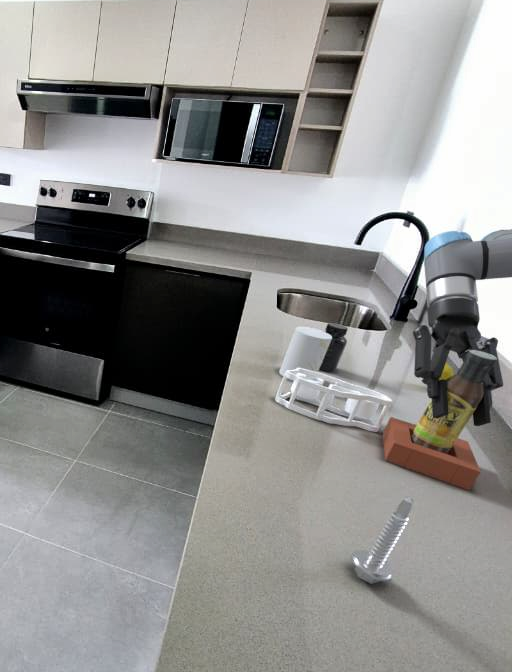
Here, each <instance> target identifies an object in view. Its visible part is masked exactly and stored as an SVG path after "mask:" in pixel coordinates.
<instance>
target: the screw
mask: <svg viewBox="0 0 512 672" xmlns="http://www.w3.org/2000/svg"><path fill="white" fill-rule="evenodd" d="M414 503H415V499H413V497H412V496H406V497H405V498H404V499H402V500H401V502H399V504H398V505H397V506H396V508H394V509H393V512H390V515H388V519H386V523H384V526H383V527H382V530H380V533H379V534H378V537H377V538H376V540H375V541H374V544H372V547H371V548H370V551H369V550H365V549H357V550H354V551H353V552H352V553H351V555H350V559H351V562H352V564H353V565H354V566H355V568H354V571H355V573H356V574H357V577H358V578H359V579H361V580H362V581H364V582H365V583H368V584H370V585H373V584H376V583H380V582H381V581H382V582H390V581H392V580H393V579H394V577H395V574H396V573H395V571H394V569H393V566H392V565H391V564H390V563H389V562H388V561H387V559H388V557H389V556H390V554H391V551H393V549H394V547H395V545H396V543H397V542H398V540H399V538H400V536H401V535H402V532H403V531H404V529H405V528H406V525H408V521H409V520H410V517H409V515H410V513H411V511H412V509H413V507H414Z"/></svg>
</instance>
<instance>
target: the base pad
mask: <svg viewBox="0 0 512 672" xmlns="http://www.w3.org/2000/svg"><path fill="white" fill-rule="evenodd" d="M416 426H417V424H415V423H411V422H408V421H405V420H402V419H399V418H396V417H393V416H390V418H389V419H388V421H387V423H386V426H385V427H384V429H383V431H382V441H383V452H384V461H385V462H388V463H391V464H394V465H396V466H400V467H403V468H405V469H408V470H410V471H414V472H416V473H419V474H422V475H425V476H427V477H430V478H434V479H436V480H438V481H441V482H444V483H448V484H450V485H453V486H456V487H458V488H462V489H464V490H467V491H471V489H472V487H473V486H474V484H475V483H476V481H477V479H478V478H479V476H480V475H481V473H482V471H481V469H480V466H479V464H478V461H477V459H476V457H475V455H474V453H473V450H472V448H471V446H470V443H469V441H468V440H464V439H462V438H459V437H458V438H457V440H456V441H455V443H454V445H453V446H452V447H451V448H450V449H449V451H448V452H447V454H445V453H442V452H439V451H436V450H433V449H430V448H427V447H424V446H421V445H418V444H415V443H412V441H411V436H412V435H413V434H414V432H413V431H414V429H415V427H416Z"/></svg>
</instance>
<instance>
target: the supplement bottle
mask: <svg viewBox="0 0 512 672" xmlns="http://www.w3.org/2000/svg"><path fill="white" fill-rule="evenodd" d="M348 329H349V328H348V327H347V326H346V325H343V324H340V323H335V322H327V324H326V326H325V332H326V333H328V334H330V335H331V336H332V339H331V342H330V344H329V347H328V349H327V351H326V354H325V356H324V359H323V361H322V363H321V366H320V368H319V371H323V372H330V373H331V372H335V371H336V370H337V369H338V366H339V362H340V361H341V358H342V356H343V354H344V351H345V348H346V346H347V345H348V340H347V338H346V337H345V336H346V335H347V332H348Z"/></svg>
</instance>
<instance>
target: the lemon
mask: <svg viewBox="0 0 512 672" xmlns="http://www.w3.org/2000/svg"><path fill="white" fill-rule="evenodd" d="M453 375H454V370H453V368H452V366H450V365H449V364H448V363H447V362H446V364H445V367H444V370H443V373H442V376H441V378H439V380H441V379H443V380H446V379H447V378H449V377H451V376H453ZM425 386H427V384H425Z"/></svg>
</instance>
